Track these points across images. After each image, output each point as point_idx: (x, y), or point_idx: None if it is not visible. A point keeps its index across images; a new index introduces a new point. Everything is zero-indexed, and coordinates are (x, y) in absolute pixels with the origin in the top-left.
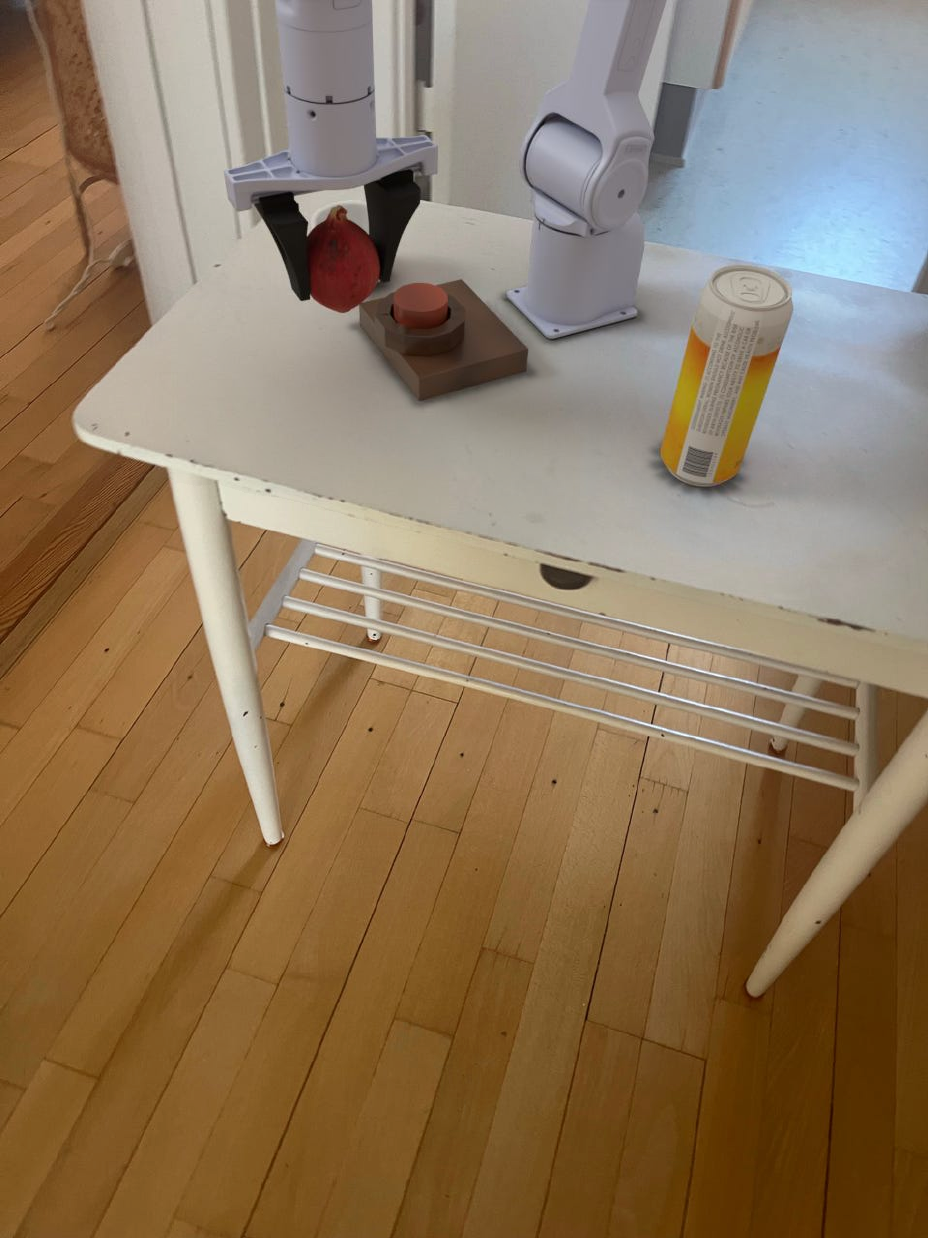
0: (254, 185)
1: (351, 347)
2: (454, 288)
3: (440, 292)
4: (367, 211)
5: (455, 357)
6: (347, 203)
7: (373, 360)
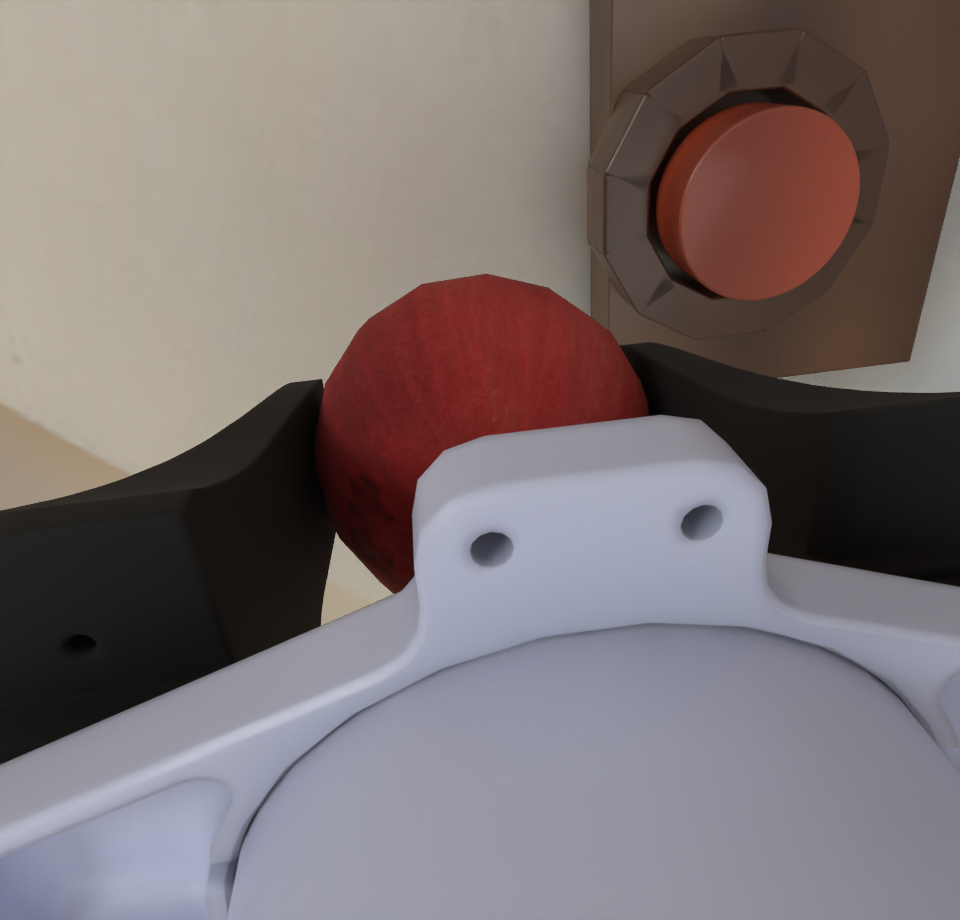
0: None
1: (519, 71)
2: None
3: (841, 203)
4: (718, 400)
5: (732, 343)
6: None
7: (555, 165)
